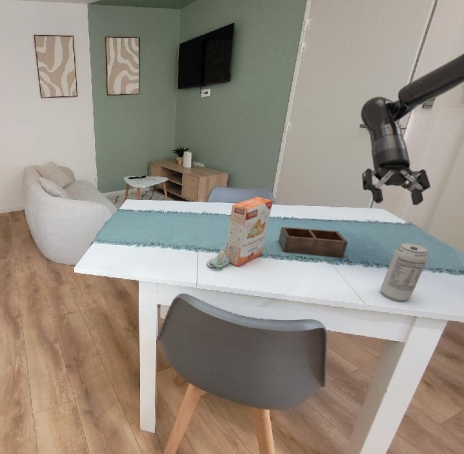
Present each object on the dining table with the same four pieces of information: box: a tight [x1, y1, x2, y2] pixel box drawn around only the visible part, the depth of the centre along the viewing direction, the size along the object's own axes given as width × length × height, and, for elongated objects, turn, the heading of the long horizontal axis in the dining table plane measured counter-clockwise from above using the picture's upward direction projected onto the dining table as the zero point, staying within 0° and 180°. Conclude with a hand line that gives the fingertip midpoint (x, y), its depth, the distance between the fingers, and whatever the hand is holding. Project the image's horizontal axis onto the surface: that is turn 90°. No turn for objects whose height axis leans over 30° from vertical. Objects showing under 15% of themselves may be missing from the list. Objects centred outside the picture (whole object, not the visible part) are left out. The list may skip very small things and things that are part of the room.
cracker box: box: [224, 196, 274, 267], centre depth 99 cm, size 14×6×21 cm, turn 122°
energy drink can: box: [380, 242, 429, 302], centre depth 77 cm, size 6×6×15 cm
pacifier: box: [206, 249, 229, 269], centre depth 98 cm, size 7×6×6 cm
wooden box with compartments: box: [278, 226, 349, 259], centre depth 105 cm, size 18×10×6 cm, turn 71°
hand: (398, 203), depth 81 cm, fingers open, 8 cm apart
